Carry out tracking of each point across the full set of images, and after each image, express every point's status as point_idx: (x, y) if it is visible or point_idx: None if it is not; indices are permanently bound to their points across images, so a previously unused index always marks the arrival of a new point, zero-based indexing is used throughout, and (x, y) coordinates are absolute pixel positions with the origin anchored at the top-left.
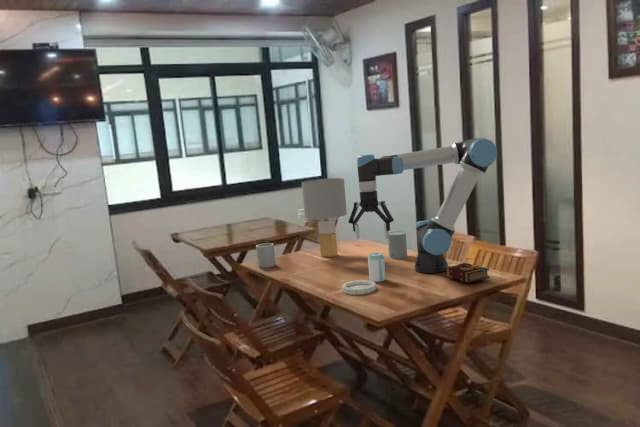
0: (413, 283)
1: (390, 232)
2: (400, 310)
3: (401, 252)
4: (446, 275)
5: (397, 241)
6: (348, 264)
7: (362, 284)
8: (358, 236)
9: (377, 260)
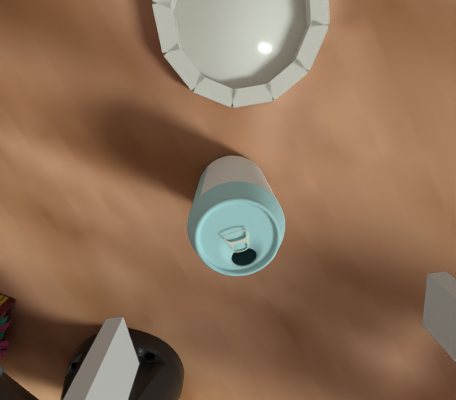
0: (70, 189)
1: None
2: None
3: None
4: (11, 301)
5: None
6: None
7: (254, 85)
8: (440, 318)
9: (204, 190)
